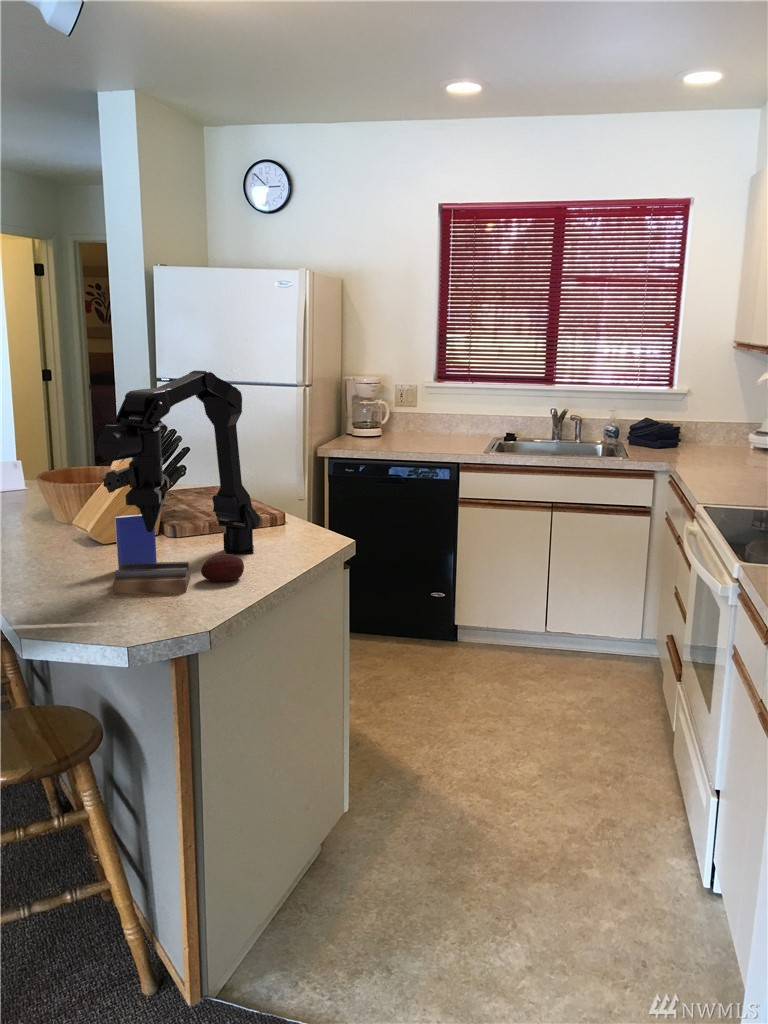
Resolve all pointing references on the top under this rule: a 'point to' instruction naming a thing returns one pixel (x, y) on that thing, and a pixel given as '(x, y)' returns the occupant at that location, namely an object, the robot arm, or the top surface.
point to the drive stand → (152, 578)
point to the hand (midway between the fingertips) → (150, 530)
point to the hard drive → (134, 540)
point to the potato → (223, 568)
